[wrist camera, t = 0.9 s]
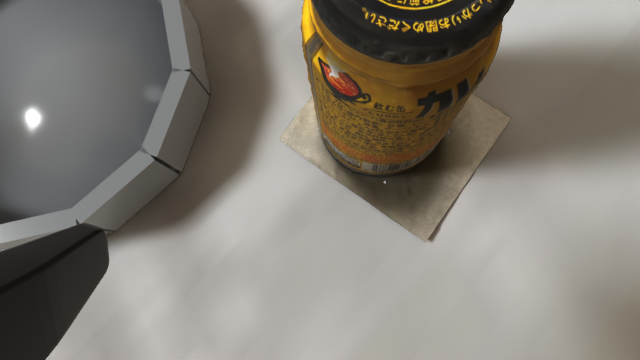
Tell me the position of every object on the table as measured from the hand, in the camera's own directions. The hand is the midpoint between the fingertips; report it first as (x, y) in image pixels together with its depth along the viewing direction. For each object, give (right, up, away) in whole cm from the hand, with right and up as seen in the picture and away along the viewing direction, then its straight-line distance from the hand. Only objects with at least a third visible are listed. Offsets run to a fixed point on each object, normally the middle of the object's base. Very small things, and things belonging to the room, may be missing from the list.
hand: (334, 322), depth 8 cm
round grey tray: (-14, +7, +16) cm, 22 cm away
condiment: (+3, +5, +14) cm, 16 cm away
